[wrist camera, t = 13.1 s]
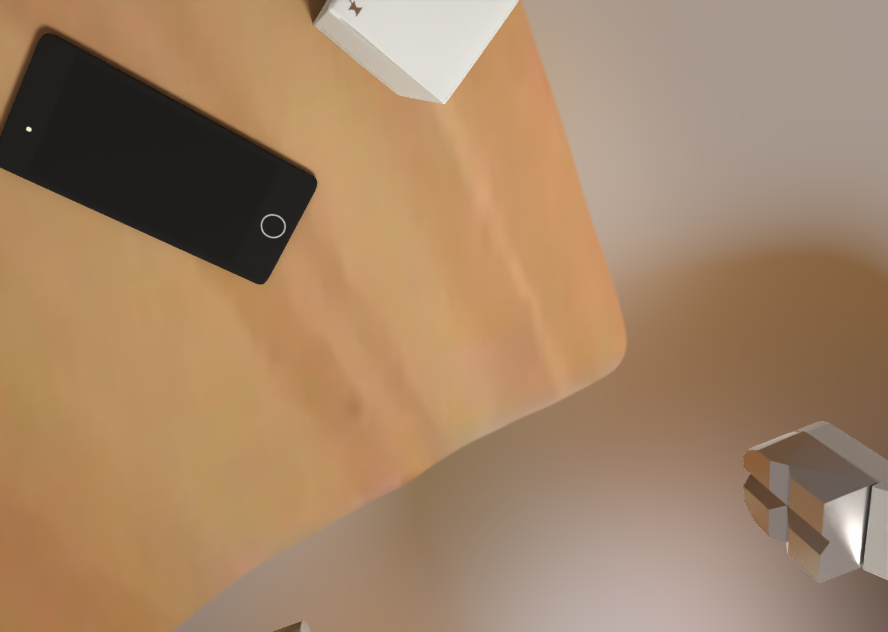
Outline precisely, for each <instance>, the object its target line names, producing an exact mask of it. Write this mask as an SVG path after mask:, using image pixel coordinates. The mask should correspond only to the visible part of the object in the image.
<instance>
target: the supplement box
mask: <svg viewBox="0 0 888 632" xmlns="http://www.w3.org/2000/svg"><path fill="white" fill-rule="evenodd" d="M518 1H519V0H327V1H326V3H325V4H324V6H323V8H322V9H321V11H320V13H319V14H318V16H317V18H316V19H315V21H314V22H313V25H314V26H315V27H316V28H317V29H318V30H320V31H321V32H322V33H323V34H324V35H326V36H327V37H328V38H329V39H331V40H332V41H333V42H334V43H335V44H337V45H338V46H339V47H340V48H341V49H342V50H344V51H345V52H346V53H347V54H348V55H349V56H351V57H352V58H353V59H354V60H355V61H357V62H358V63H359V64H360V65H361V66H363V67H364V68H365V69H366V70H368V71H369V72H370V73H371V74H373V75H374V76H375V77H376V78H377V79H379V80H380V81H381V82H382V83H384V84H385V85H386V86H387V87H388V88H390V89H391V90H392V91H394V92H395V93H396V94H397V95H400V96H405V97H411V98H416V99H420V100H425V101H431V102H436V103H442V104H445V103H446V102H447V100H448V99H449V98H450V96H451V95H452V94H453V92H454V91H455V90H456V88H457V87H458V86H459V84H460V83H461V82H462V80H463V79H464V77H465V76H466V75H467V73H468V72H469V70H470V69H471V67H472V66H473V65H474V63H475V62H476V61H477V59H478V58H479V56H480V55H481V54H482V52H483V51H484V49H485V48H486V47H487V45H488V44H489V42H490V41H491V39H492V38H493V37H494V35H495V34H496V32H497V31H498V30H499V28H500V27H501V25H502V24H503V23H504V21H505V20H506V18H507V17H508V15H509V14H510V13H511V11H512V10H513V8H514V7H515V5H516V4H517V2H518Z"/></svg>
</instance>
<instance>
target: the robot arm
mask: <svg viewBox="0 0 888 632" xmlns="http://www.w3.org/2000/svg"><path fill="white" fill-rule="evenodd" d="M743 467H744V468H745V469H746V470H747V471H748V472H749V473H750V476H749V477H748V479H747V481H746V483H745V484H744V486H743V489H744V501H745V503H746V506H747V508H748V511H749V513H750V515H751V517H752V518H753V519H754V521H755V522H756V524H757V525H758V526H759V527H760V528H761V529H762V530H763V531H764V532H765V533H766V534H767V535H768V536H769V537H772V538H775V539H778V540H781V541H784V542H786V545H787V551H788V555H789V556H790V557H791V558H792V559H793V560H794V561H795V562H796V563H797V564H798V565H799V566H800V567H801V568H803V569H804V570H805V571H806V572H807V573H808V574H809V575H810V576H811V577H812V578H813V579H814V580H815V581H817V583H821V582H824V581H827V580H829V579H832V578H834V577H837V576H839V575H842V574H845V573H847V572H850V571H852V570H855V569H857V568H860V567H862V566H863V569H864V570H866V571H868V572H870V573H873V574H875V575H877V576H880V577H882V578H884V579H886V580H888V460H886V459H885V458H883V457H882V456H880V455H878V454H877V453H875V452H874V451H872V450H871V449H869V448H867V447H866V446H864V445H863V444H861V443H860V442H858V441H856V440H855V439H854V438H852V437H850V436H849V435H847V434H846V433H844V432H843V431H841V430H839V429H838V428H836V427H835V426H833V425H832V424H830V423H827V422H823V421H819V422H816V423H814V424H811V425H808V426H806V427H803V428H801V429H798V430H796V431H794V432H790V433H787V434H785V435H782V436H780V437H777V438H775V439H773V440H770V441H767V442H765V443H762V444H760V445H757V446H755V447H752V448H750V449H747V451H746V453H745V454H744V456H743ZM273 632H311V631H310V629H309V627H308V625H307V624H306V622H305V621H301V622H299V623H296V624H293V625H290V626H287V627H284V628H282V629H279V630H276V631H273Z"/></svg>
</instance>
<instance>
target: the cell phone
mask: <svg viewBox="0 0 888 632" xmlns="http://www.w3.org/2000/svg"><path fill="white" fill-rule="evenodd" d="M0 168H3V169H5V170H7V171H9V172H11V173H13V174H16V175H18V176H20V177H22V178H24V179H27V180H29V181H31V182H33V183H35V184H38V185H40V186H42V187H44V188H46V189H49V190H51V191H53V192H55V193H57V194H60V195H62V196H64V197H66V198H69V199H71V200H73V201H75V202H77V203H80V204H82V205H84V206H86V207H88V208H91V209H93V210H95V211H97V212H99V213H102V214H104V215H106V216H108V217H110V218H113V219H115V220H117V221H119V222H121V223H124V224H126V225H128V226H130V227H133V228H135V229H137V230H139V231H141V232H144V233H146V234H148V235H150V236H152V237H155V238H157V239H159V240H161V241H163V242H166V243H168V244H170V245H172V246H174V247H177V248H179V249H181V250H183V251H185V252H188V253H190V254H192V255H194V256H197V257H199V258H201V259H203V260H205V261H208V262H210V263H212V264H214V265H216V266H219V267H221V268H223V269H225V270H227V271H230V272H232V273H234V274H236V275H238V276H241V277H243V278H245V279H247V280H250V281H252V282H254V283H256V284H264V283H265V282H266V281H267V279H268V278H269V276H270V275H271V273H272V271H273V269H274V267H275V265H276V263H277V262H278V260H279V258H280V256H281V254H282V252H283V250H284V248H285V247H286V245H287V243H288V241H289V239H290V237H291V235H292V233H293V231H294V230H295V228H296V226H297V224H298V222H299V220H300V218H301V216H302V215H303V213H304V211H305V209H306V207H307V205H308V203H309V201H310V200H311V198H312V196H313V194H314V192H315V190H316V187H317V180H316V178H315V177H314V176H312V175H310V174H308V173H306V172H305V171H303V170H301V169H299V168H297V167H296V166H294V165H292V164H290V163H288V162H286V161H285V160H283V159H281V158H279V157H277V156H275V155H274V154H272V153H270V152H268V151H266V150H265V149H263V148H261V147H259V146H257V145H255V144H254V143H252V142H250V141H248V140H246V139H244V138H243V137H241V136H239V135H237V134H235V133H233V132H232V131H230V130H228V129H226V128H224V127H223V126H221V125H219V124H217V123H215V122H213V121H212V120H210V119H208V118H206V117H204V116H202V115H201V114H199V113H197V112H195V111H193V110H192V109H190V108H188V107H186V106H184V105H182V104H181V103H179V102H177V101H175V100H173V99H171V98H170V97H168V96H166V95H164V94H162V93H161V92H159V91H157V90H155V89H153V88H151V87H150V86H148V85H146V84H144V83H142V82H140V81H139V80H137V79H135V78H133V77H131V76H130V75H128V74H126V73H124V72H122V71H120V70H119V69H117V68H115V67H113V66H111V65H109V64H108V63H106V62H104V61H102V60H100V59H99V58H97V57H95V56H93V55H91V54H89V53H88V52H86V51H84V50H82V49H80V48H78V47H77V46H75V45H73V44H71V43H69V42H68V41H66V40H64V39H62V38H60V37H58V36H56V35H53V34H45V35H44V36H43V37H42V38H41V39H40V41H39V42H38V44H37V47H36V49H35V52H34V54H33V57H32V59H31V62H30V64H29V67H28V69H27V72H26V74H25V77H24V79H23V82H22V84H21V87H20V89H19V92H18V94H17V97H16V99H15V102H14V104H13V107H12V109H11V112H10V114H9V117H8V119H7V122H6V124H5V127H4V129H3V132H2V134H1V137H0Z"/></svg>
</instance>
